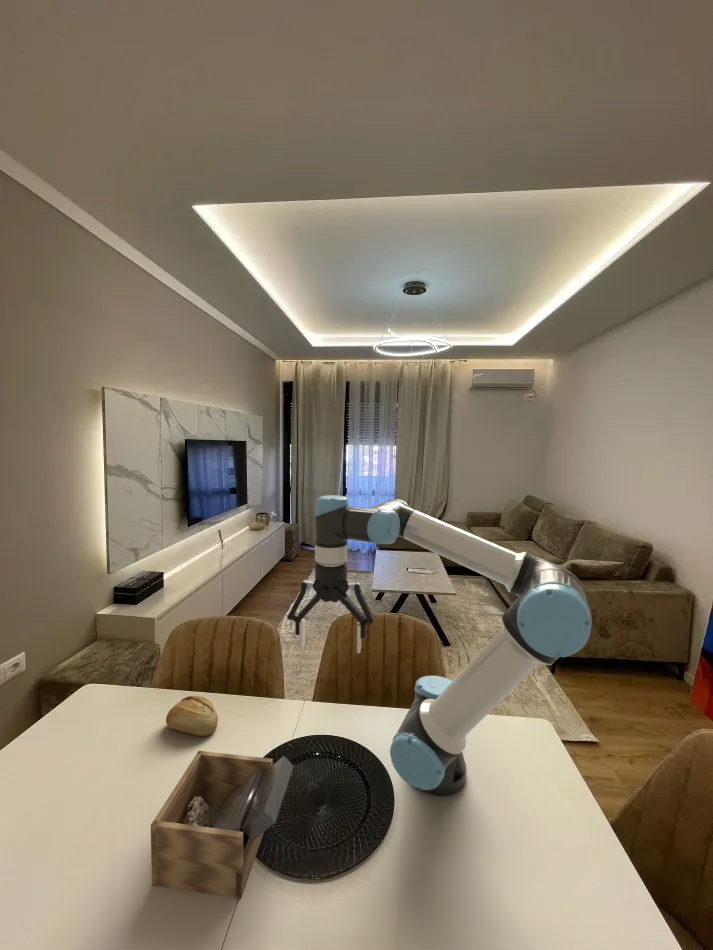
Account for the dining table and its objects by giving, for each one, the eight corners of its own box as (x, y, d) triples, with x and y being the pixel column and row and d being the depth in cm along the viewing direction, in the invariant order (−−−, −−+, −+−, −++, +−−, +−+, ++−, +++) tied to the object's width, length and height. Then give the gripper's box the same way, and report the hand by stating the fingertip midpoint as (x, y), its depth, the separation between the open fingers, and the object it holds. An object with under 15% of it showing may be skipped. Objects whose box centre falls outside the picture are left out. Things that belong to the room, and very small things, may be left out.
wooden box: (272, 809, 92) (272, 758, 91) (241, 898, 74) (241, 837, 73) (199, 800, 94) (198, 750, 93) (151, 885, 76) (150, 825, 75)
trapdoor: (211, 877, 77) (196, 861, 77) (240, 810, 91) (227, 796, 91) (274, 824, 74) (258, 808, 75) (294, 764, 88) (281, 750, 88)
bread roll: (178, 713, 123) (178, 687, 122) (225, 720, 120) (225, 694, 119) (157, 735, 113) (157, 708, 113) (207, 744, 111) (207, 716, 110)
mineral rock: (205, 808, 91) (179, 795, 87) (221, 800, 90) (195, 786, 87) (195, 872, 81) (164, 859, 78) (212, 864, 81) (182, 850, 77)
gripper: (384, 559, 100) (383, 643, 102) (282, 555, 102) (282, 638, 103) (384, 568, 92) (382, 659, 94) (274, 564, 94) (274, 654, 96)
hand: (330, 649), depth 99 cm, fingers open, 13 cm apart
